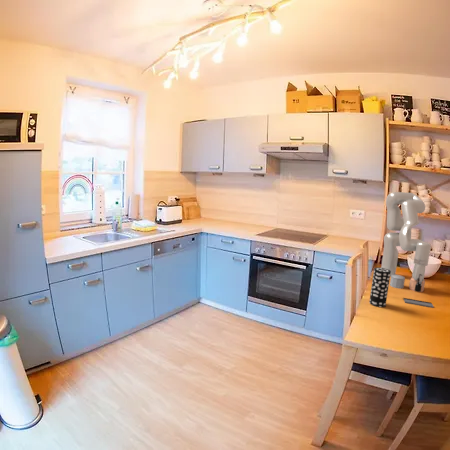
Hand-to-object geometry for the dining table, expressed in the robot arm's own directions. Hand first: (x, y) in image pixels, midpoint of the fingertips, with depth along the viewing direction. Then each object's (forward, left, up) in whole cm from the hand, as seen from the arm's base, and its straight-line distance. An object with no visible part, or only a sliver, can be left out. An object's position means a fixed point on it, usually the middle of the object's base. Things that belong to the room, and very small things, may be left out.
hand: (416, 288), depth 203 cm
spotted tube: (-24, -34, -2) cm, 42 cm away
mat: (-2, -16, -2) cm, 16 cm away
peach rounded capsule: (0, 0, -2) cm, 2 cm away
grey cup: (-11, 0, -2) cm, 11 cm away
